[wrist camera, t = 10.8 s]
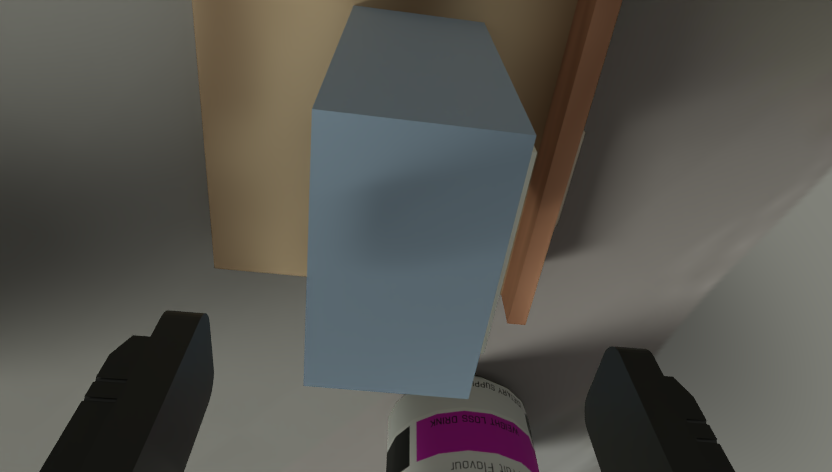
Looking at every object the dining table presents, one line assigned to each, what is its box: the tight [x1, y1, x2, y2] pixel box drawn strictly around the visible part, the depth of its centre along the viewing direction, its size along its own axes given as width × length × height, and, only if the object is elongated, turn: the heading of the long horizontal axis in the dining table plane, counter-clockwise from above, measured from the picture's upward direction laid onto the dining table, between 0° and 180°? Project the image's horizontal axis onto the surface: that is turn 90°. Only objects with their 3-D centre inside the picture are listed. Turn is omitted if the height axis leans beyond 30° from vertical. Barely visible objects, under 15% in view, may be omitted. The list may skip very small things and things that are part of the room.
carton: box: [304, 5, 537, 399], centre depth 18 cm, size 8×5×10 cm, turn 173°
